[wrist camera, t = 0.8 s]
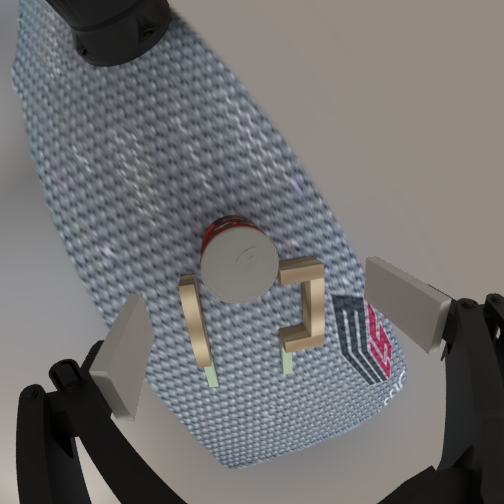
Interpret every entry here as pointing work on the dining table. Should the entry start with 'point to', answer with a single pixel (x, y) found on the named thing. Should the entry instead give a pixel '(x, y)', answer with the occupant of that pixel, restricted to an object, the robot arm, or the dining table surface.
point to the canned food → (237, 260)
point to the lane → (290, 337)
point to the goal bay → (285, 364)
